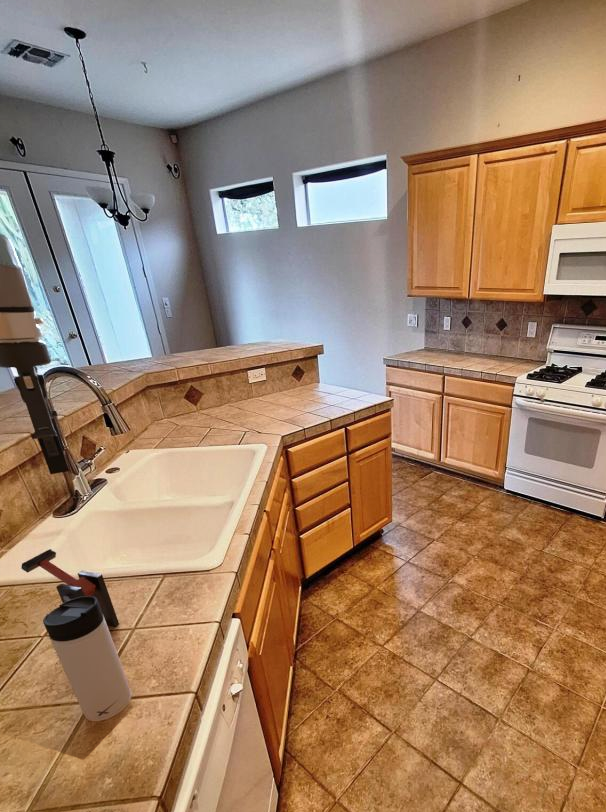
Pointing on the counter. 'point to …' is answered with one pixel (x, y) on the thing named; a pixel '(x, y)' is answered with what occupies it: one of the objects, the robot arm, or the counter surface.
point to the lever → (57, 571)
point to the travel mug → (88, 657)
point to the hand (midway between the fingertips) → (58, 461)
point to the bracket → (99, 593)
